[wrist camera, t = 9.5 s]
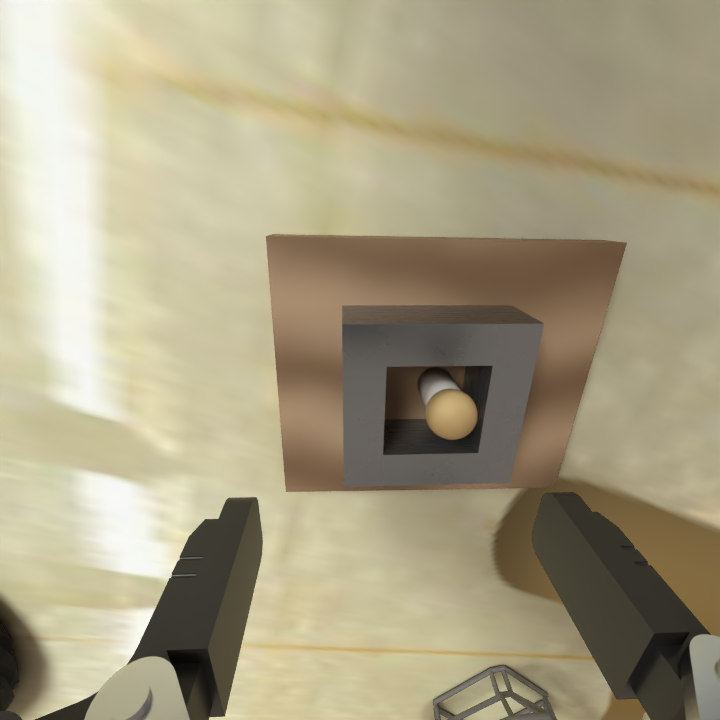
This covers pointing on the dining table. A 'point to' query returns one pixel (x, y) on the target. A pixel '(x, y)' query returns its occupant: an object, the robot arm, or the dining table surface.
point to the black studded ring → (6, 670)
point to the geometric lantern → (501, 698)
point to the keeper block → (431, 383)
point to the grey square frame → (435, 348)
